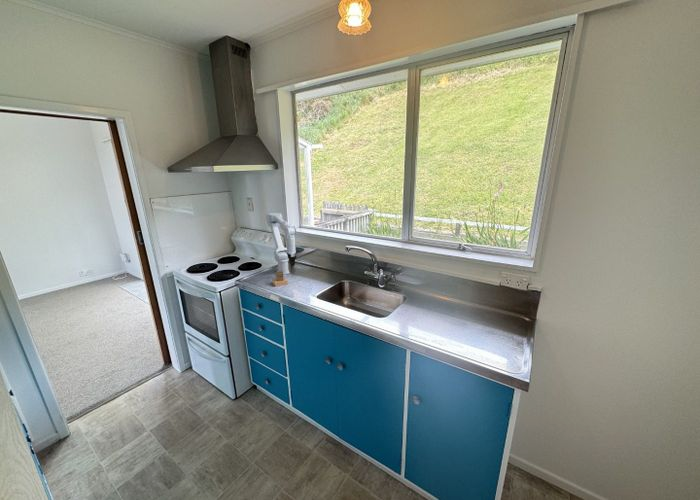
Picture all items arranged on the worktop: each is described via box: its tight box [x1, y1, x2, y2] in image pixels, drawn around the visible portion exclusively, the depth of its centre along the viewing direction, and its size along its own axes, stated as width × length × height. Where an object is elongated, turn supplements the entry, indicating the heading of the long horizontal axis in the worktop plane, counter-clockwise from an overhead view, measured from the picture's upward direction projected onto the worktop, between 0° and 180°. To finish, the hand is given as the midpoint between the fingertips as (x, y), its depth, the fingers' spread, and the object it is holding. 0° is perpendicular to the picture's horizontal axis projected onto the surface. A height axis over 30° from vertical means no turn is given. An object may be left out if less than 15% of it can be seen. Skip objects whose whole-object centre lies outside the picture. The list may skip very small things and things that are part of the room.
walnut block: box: [275, 271, 284, 281], centre depth 182 cm, size 4×4×5 cm
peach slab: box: [271, 276, 289, 288], centre depth 183 cm, size 8×8×3 cm
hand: (292, 264), depth 190 cm, fingers open, 7 cm apart
